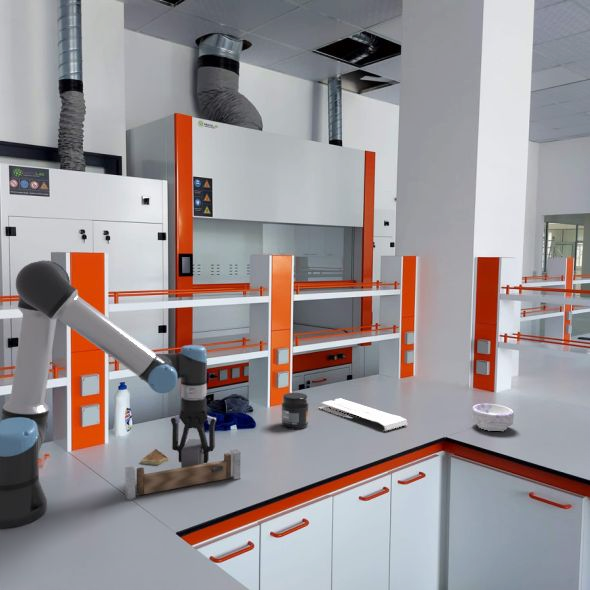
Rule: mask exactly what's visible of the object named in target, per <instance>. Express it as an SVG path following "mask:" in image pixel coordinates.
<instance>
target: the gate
mask: <svg viewBox="0 0 590 590" xmlns="http://www.w3.org/2000/svg"><path fill="white" fill-rule="evenodd" d="M230 453H231V452H227V453H223V455H224V456H223V460H218V461H212V462H207V463H205V464H200V465H194V466H189V467H183V468H181V467H178V468H171V469H166V470H160V471H154V472H149V473H145V468H144V467H137V468H136V495H137V496H143V495H147V494H152V493H157V492H164V491H168V490H174V489H179V488H185V487H188V486H194V485H199V484H204V483H210V482H211V483H212V482H215V481H220V480H226V479H231V478H232V477H231V454H230Z"/></svg>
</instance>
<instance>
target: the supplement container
mask: <svg viewBox="0 0 590 590" xmlns="http://www.w3.org/2000/svg"><path fill="white" fill-rule="evenodd" d="M280 423H281V425H282V427H284V428H285V427H286V428H285V429H288V428H290V429H289V430H301V428H302V429H305V428H306V427H308V425H309V402H308V395H307V394H306V393H302V392H288V393H284V394H283V395H282V402H281V422H280Z"/></svg>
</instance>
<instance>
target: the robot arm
mask: <svg viewBox="0 0 590 590" xmlns="http://www.w3.org/2000/svg"><path fill="white" fill-rule="evenodd" d="M15 289H16V292H17V295H18V304H17V309H18V310H19V311H20V312H21V313H22V317H21V326H20V330H19V331H20V333H19V339H18V346H17V351H16V357H15V358H16V359H15V363H14V364H15V365H14V370H13V371H14V373H13V377H12V378H13V379H12V385H11V390H10V391H11V393H10V397H9V398H10V399H9V400H8V401H7V402H6V403H5V404H3V406H2V411H1V416H0V417H1V418H0V529H8V528H15V527H20V526H23V525H26V524H29V523H31V522H34V521H36V520H38V519H39V518H41V517H42V516H44V515H45V513H46V512H47V510H48V499H47V497H46V495H45V492H44V489H43V487H42V484H41V483H40V477H39V476H40V473H39V471H40V470H39V469H40V468H39V467H40V466H39V454H40V450H41V448H42V445H43V444H44V441H45V440H46V438H47V435H48V431H49V423H48V420H49V419H48V418H49V412H50V406H49V405H48V404H47V403H46V402H45V399H46V393H47V388H48V387H47V385H48V380H49V371H50V366H51V360H52V352H53V346H54V338H55V334H56V328H57V327H56V326H57V320H59V321H61V323H64V324H65V325H66V326H68V327H69V328H71V330H73V331H75V332H76V333H77V334H79V335H80V336H81V337H83V338H84V339H86V340H87V341H88V342H90V343H91V344H93V345H94V346H96V347H97V348H98V349H99V350H101V351H102V352H104V353H105V354H107V355H108V356H109V357H110V358H113V360H115V361H116V362H118V363H119V364H120V365H122V366H124V367H125V368H126V369H128V370H129V371H130V372H132V373H133V374H135V376H138V377H139V379H140V380H141V381H144V382H145V383H147V385H148V386H149V387H150V389H152V391H153V392H155V393H158V394H167V393H169V392H171V391H172V390H174V389H175V387H176V385H177V384H178V380H179V379H180V382H181V383H180V396H181V397H182V398H181V399H180V413H179V415H173V416H172V417H171V419H170V422H171V424H172V438H171V439H172V440H171V441H172V445H171V447H172V450H173V451H177V452H178V462H179V463H181V450H182V449H183V447H184V446H185V444H186V443H187V439H188V434H189V431H190V429H196V430H197V432H198V437H199V439H200V440H201V444H202V448H203V451H202V453H201V464H206V463H209V460H210V459H209V456H210V455H209V453H210V452H213V451H214V450H215V447H216V446H215V445H216V443H215V442H216V439H215V438H216V436H215V434H216V432H215V431H216V430H215V429H216V428H215V425H216V422H217V417H216V416H210V415H209V414H208V412H207V400H208V399H207V397H206V396H207V391H208V389H207V388H208V387H207V383H208V382H207V374H208V373H207V372H208V370H207V368H208V367H207V366H208V360H207V359H208V358H207V349H206V347H205V346H203V345H199V344H189V345H183V346H181V349H180V352H178V353H177V352H176V353H155V351H153V350H152V349H150V348H149V347H148V346H146V345H145V344H143V343H142V342H141V341H140V340H138V339H137V338H135V337H134V336H133V335H131V334H130V333H128V331H126V330H125V329H124V328H123V327H121V326H119V325H118V324H116V323H115V322H114V321H113V320H111V319H110V318H108V316H106V315H104V314H103V313H102V312H100V311H99V310H98V309H97V308H95V306H93V305H91V303H88V302H87V301H86V300H84V299H83V298H82V297H80V296H79V291H78V289H76V288H75V287H74V286H72V284H71V280H70V276H69V273H68V272H67V270H66V269H65V267H63V266H62V265H61V264H59V263H57V262H55V261H50V260H45V259H44V260H39V261H33V262H31V263H28V264H26V265H24V267H22V268H21V269H20V270H19V272H18V273H17V275H16V278H15ZM180 420H181V422H182V424H183V425H184V427H183V429H182V430H183V431H182V434H181V439H180V442H179V429H180V428H179V423H180ZM206 421H207V424H208V425H209V427H208V434H209V437H208V438H209V439H208V440H207V436H206V433H205V426H204V424H205V422H206ZM208 442H209V443H208Z"/></svg>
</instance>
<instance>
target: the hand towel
mask: <svg viewBox="0 0 590 590" xmlns="http://www.w3.org/2000/svg"><path fill="white" fill-rule="evenodd" d="M321 404H322V405H325V406H321V407H319V408H320V410H322V409H323V411H324V412H328V413H330V412H331V414H333V415H335V416H338V415H339V416H338V417H341V416H343V417H342V418H344V416H347V413H349V414H348V416H349V415H350V414H353V415H356V416H355V417H357V416H359V417H358V418H360V417H361V418H362V419H365V420H368V421H371V422H373V423H378V424H380V425H382V426H383V428H384V430H383V431H385V432H387V431H388V430H389V431H391V430H395V428H396V429H399V427H400V428H403V427H402V426H404V427H406V426H408V424H409V423H408V420H407V419H406V418H404V417H402V416H400V415H397V414H391V413H388V412H385V411H382V410H379V409H376V408H373V407H370V406H366V405H363V404H360V403H358V402H354V401H350V400H347V399H344V398H342V397H340V398H335V399H334V400H331V399H330V400H327V401H325V400H324V401H323V402H321ZM329 407H330V408H331V409H330V408H329ZM333 409H334V410H333ZM336 410H337V411H336ZM339 411H341V412H339ZM342 412H343V413H342ZM344 413H345V414H344ZM353 415H352V416H353ZM361 418H360V419H361Z"/></svg>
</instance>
